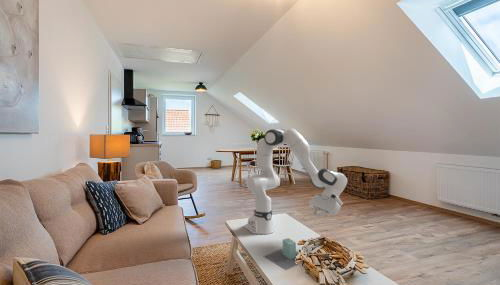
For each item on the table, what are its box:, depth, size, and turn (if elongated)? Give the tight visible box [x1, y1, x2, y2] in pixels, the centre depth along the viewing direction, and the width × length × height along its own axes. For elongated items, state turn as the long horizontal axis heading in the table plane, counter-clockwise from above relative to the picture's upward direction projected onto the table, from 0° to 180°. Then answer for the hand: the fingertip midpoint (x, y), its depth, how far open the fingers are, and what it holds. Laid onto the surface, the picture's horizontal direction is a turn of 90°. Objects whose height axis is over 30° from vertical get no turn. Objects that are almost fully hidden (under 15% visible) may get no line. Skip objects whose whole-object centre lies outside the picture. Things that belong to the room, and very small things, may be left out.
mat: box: [263, 248, 299, 271], centre depth 130 cm, size 17×18×1 cm
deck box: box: [282, 237, 297, 259], centre depth 132 cm, size 6×4×8 cm, turn 27°
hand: (316, 216), depth 140 cm, fingers open, 3 cm apart
